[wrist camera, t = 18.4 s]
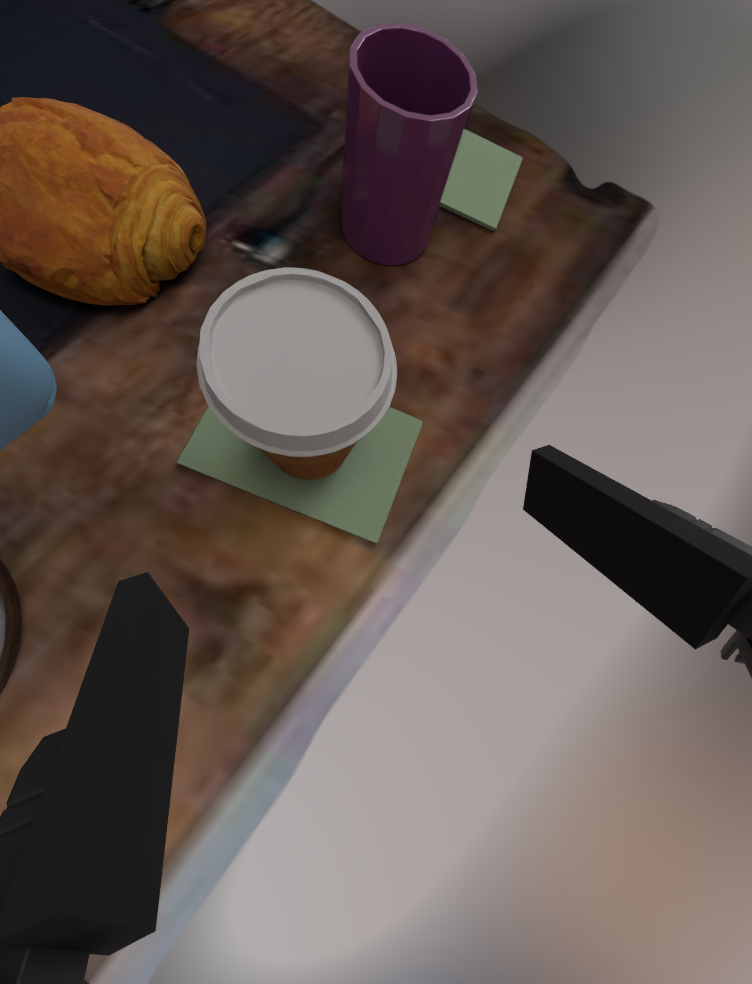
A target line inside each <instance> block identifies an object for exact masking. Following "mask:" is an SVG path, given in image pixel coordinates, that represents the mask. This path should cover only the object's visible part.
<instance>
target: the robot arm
mask: <svg viewBox="0 0 752 984" xmlns="http://www.w3.org/2000/svg"><path fill="white" fill-rule="evenodd" d="M56 387H57V384H56V380H55V376H54V373H53V371H52V369H51V367H50V365H49V364H48V362H47V361H46V360H45V359H44V357H43V356H42V355H41V354H40V353H39V351H38V350H37V349H36V348H35V347H34V346H33V345H32V344H31V342H30V341H29V340H28V339H27V338H26V337H25V336H24V335H23V334H22V333H21V332H20V331H19V330H18V329H17V327H16V326H15V325H14V324H13V323H12V322H11V321H10V320H9V319H8V318H7V317H6V316H5V315H4V314H3V313H2V312H1V310H0V450H2V449H3V448H4V447H6V446H7V445H8V444H10V443H11V442H12V441H14V440H15V439H16V438H18V437H19V436H20V435H22V434H23V433H24V432H26V431H27V430H28V429H30V428H31V427H32V426H34V425H35V424H36V423H38V422H39V421H40V420H42V419H43V418H44V417H45V416H46V415H47V414H48V413H49V411H50V410H51V409H52V407H53V405H54V403H55V398H56V391H57V390H56ZM523 510H524V511H526V512H527V513H528V514H529V515H531V516H532V517H533V518H534V519H536V520H537V521H538V522H539V523H540V524H542V525H543V526H544V527H545V528H547V529H548V530H549V531H550V532H552V533H553V534H554V535H555V536H557V537H558V538H559V539H560V540H561V541H563V542H564V543H565V544H566V545H568V546H569V547H570V548H571V549H573V550H574V551H575V552H576V553H577V554H579V555H580V556H581V557H582V558H584V559H585V560H586V561H587V562H588V563H590V564H591V565H592V566H593V567H595V568H596V569H597V570H598V571H600V572H601V573H602V574H603V575H604V576H606V577H607V578H608V579H609V580H611V581H612V582H613V583H614V584H616V585H617V586H618V587H619V588H620V589H622V590H623V591H624V592H625V593H627V594H628V595H629V596H630V597H631V598H633V599H634V600H635V601H636V602H638V603H639V604H640V605H641V606H643V607H644V608H645V609H646V610H647V611H649V612H650V613H651V614H652V615H654V616H655V617H656V618H657V619H659V620H660V621H661V622H662V623H664V624H665V625H666V626H667V627H668V628H670V629H671V630H672V631H673V632H675V633H676V634H677V635H678V636H680V637H681V638H682V639H683V640H685V641H686V642H687V643H688V644H689V645H691V646H692V647H693V648H694V649H697V648H699V647H701V646H703V645H705V644H707V643H708V642H710V641H712V640H714V639H716V638H717V637H718V636H719V635H720V633H721V632H722V631H723V629H724V628H725V627H726V626H727V624H729V625H730V626H732V627H733V628H735V629H736V632H735V633H734V634H733V636H732V637H731V638H730V639H729V640H728V642H727V643H726V644H725V645H724V647H723V648H722V650H721V657H722V659H725V660H727V659H728V658H729V657H730V656H731V655H732V654H733V652H734V651H735V650H736V649H737V648H738V650H739V653H738V654H737V655H736V658H735V662H739V663H744V664H745V665H746V667H747V669H748V671H749V673H750V676H751V678H752V547H751V546H749V545H747V544H745V543H744V542H741V541H740V540H738V539H736V538H734V537H732V536H730V535H728V534H726V533H725V532H723V531H721V530H719V529H717V528H712V526H711V525H709V524H708V523H706V522H704V521H702V520H700V519H699V520H697V519H696V517H694V516H692V515H691V514H689V513H687V512H685V511H683V510H681V509H679V508H677V507H675V506H672V505H669V504H666V503H662V502H659V501H656V500H653V501H651V500H649V499H648V498H646V497H644V496H642V495H640V494H638V493H637V492H635V491H633V490H631V489H629V488H627V487H626V486H624V485H622V484H620V483H618V482H616V481H615V480H613V479H611V478H609V477H607V476H605V475H604V474H602V473H600V472H598V471H596V470H594V469H592V468H591V467H589V466H587V465H585V464H583V463H582V462H580V461H578V460H576V459H574V458H572V457H570V456H569V455H567V454H565V453H563V452H561V451H559V450H558V449H556V448H554V447H552V446H550V445H548V446H544V447H541V448H538V449H535V450H532V454H531V461H530V467H529V474H528V480H527V488H526V493H525V500H524V507H523ZM20 633H21V608H20V602H19V597H18V593H17V590H16V587H15V584H14V582H13V580H12V578H11V576H10V574H9V572H8V570H7V569H6V567H5V566H4V564H3V563H2V562H1V561H0V691H1V689H2V688H3V686H4V684H5V682H6V680H7V678H8V676H9V673H10V671H11V669H12V666H13V663H14V660H15V657H16V654H17V650H18V646H19V641H20ZM188 635H189V627H188V626H187V625H186V623H185V622H184V621H183V619H182V618H181V617H180V615H179V614H178V613H177V611H176V610H175V609H174V607H173V606H172V604H171V603H170V602H169V600H168V599H167V598H166V596H165V595H164V594H163V592H162V591H161V590H160V588H159V587H158V586H157V584H156V583H155V581H154V580H153V579H152V577H151V576H150V575H149V573H148V572H146V573H143V574H140V575H137V576H134V577H131V578H127V579H124V580H121V581H118V584H117V587H116V590H115V593H114V595H113V598H112V601H111V604H110V607H109V609H108V612H107V615H106V618H105V621H104V623H103V626H102V629H101V632H100V635H99V637H98V640H97V643H96V646H95V649H94V652H93V654H92V657H91V660H90V663H89V666H88V668H87V671H86V674H85V677H84V680H83V682H82V685H81V688H80V691H79V694H78V696H77V699H76V702H75V705H74V708H73V711H72V713H71V716H70V719H69V722H68V725H67V727H66V729H63V730H61V731H58V732H56V733H53V734H50V735H48V736H45V737H43V739H42V740H41V741H40V743H39V744H38V746H37V747H36V748H35V750H34V751H33V753H32V754H31V756H30V757H29V758H28V760H27V761H26V763H25V764H24V765H23V767H22V768H21V770H20V772H19V774H18V777H17V779H16V782H15V784H14V786H13V789H12V791H11V794H10V796H9V798H8V801H7V803H6V804H7V809H6V810H4V811H3V813H2V815H1V817H0V984H89V983H88V982H87V981H85V980H84V978H85V973H86V968H87V963H88V958H89V954H97V955H111V954H113V953H115V952H116V951H118V950H120V949H122V948H124V947H126V946H128V945H130V944H132V943H134V942H136V941H138V940H139V939H141V938H143V937H145V936H147V935H149V934H151V933H153V932H155V931H156V922H157V913H158V904H159V895H160V886H161V877H162V868H163V859H164V850H165V841H166V832H167V824H168V815H169V806H170V797H171V788H172V779H173V770H174V761H175V752H176V743H177V734H178V725H179V716H180V707H181V698H182V689H183V680H184V671H185V662H186V653H187V644H188Z"/></svg>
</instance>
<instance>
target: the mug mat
mask: <svg viewBox="0 0 752 984" xmlns="http://www.w3.org/2000/svg"><path fill="white" fill-rule="evenodd" d="M522 159H523V157H521V156H519V155H517V154H514V153H512V152H510V151H508V150H506V149H504V148H502V147H500V146H498V145H496V144H494V143H492V142H490V141H488V140H486V139H484V138H482V137H480V136H478V135H476V134H473V133H471V132H469V131H467V130H465V132H464V135H463V138H462V141H461V144H460V148H459V151H458V154H457V157H456V160H455V163H454V166H453V169H452V172H451V175H450V178H449V181H448V184H447V187H446V190H445V193H444V197H443V200H442V203H441V206H440V207H443V208H445V209H447V210H449V211H451V212H453V213H455V214H457V215H460V216H462V217H464V218H466V219H468V220H470V221H472V222H474V223H477V224H479V225H481V226H483V227H485V228H487V229H489V230H491V231H494V232H495V230H496V228H497V225H498V222H499V220H500V217H501V214H502V212H503V209H504V206H505V204H506V201H507V198H508V196H509V193H510V190H511V188H512V185H513V183H514V180H515V177H516V175H517V172H518V169H519V167H520V164H521V161H522Z"/></svg>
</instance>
